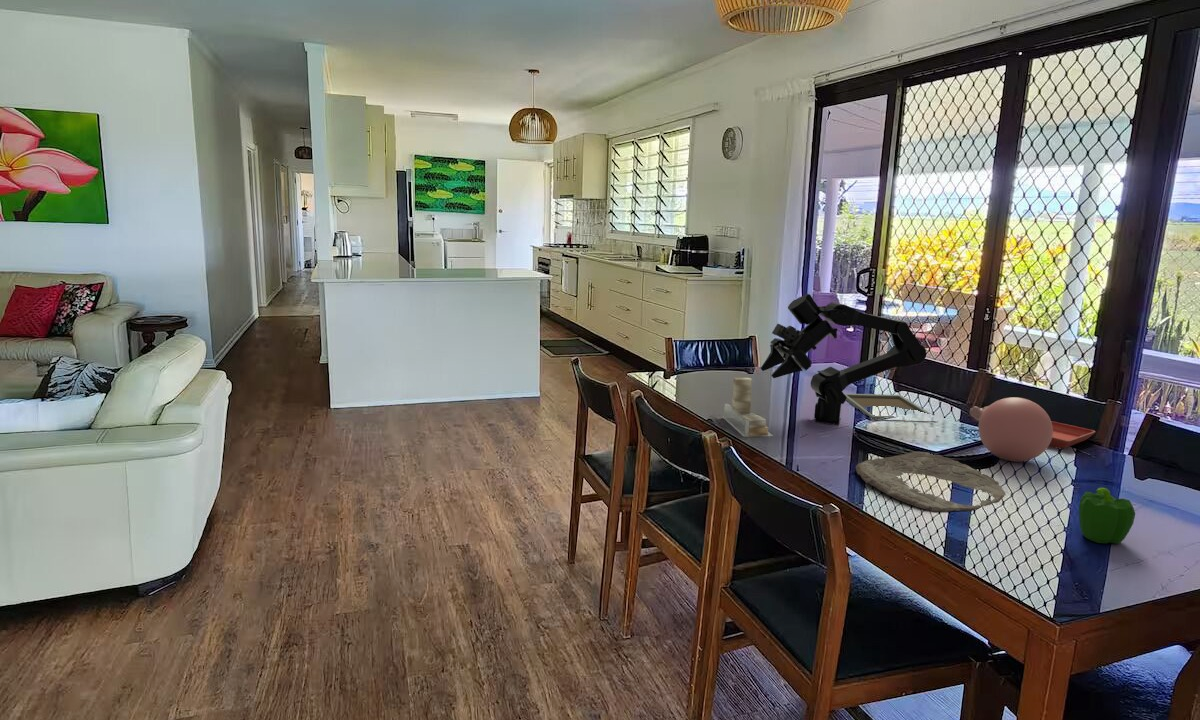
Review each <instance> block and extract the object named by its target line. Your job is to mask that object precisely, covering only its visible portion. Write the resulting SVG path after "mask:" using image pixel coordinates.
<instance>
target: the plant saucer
mask: <svg viewBox="0 0 1200 720" xmlns="http://www.w3.org/2000/svg"><path fill="white" fill-rule="evenodd" d="M1051 422H1052V426H1053V436H1052V440H1051V442H1050V444H1049V446H1048V447H1051V448H1056V449H1061V450H1063V449H1067V448H1069V447H1071V446H1074V445H1076V444H1079V443H1082V442H1084V441H1086V440H1088V439H1089V438H1090V437H1092V436H1093V435H1094V434H1096V431H1095V430H1094V429H1089V428H1086V427H1079V426H1076V425H1070V424H1067V423H1061V422H1057V421H1052V420H1051Z"/></svg>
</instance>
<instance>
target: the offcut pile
mask: <svg viewBox="0 0 1200 720" xmlns="http://www.w3.org/2000/svg"><path fill="white" fill-rule="evenodd" d="M742 416H744V417H745V418H746V419H747V420H748V421H749V435H758V434H768V432H769V427H768V426H767V419H765V418H764V417H762V416H760V415H759V414H755V415H742Z"/></svg>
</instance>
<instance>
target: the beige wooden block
mask: <svg viewBox="0 0 1200 720" xmlns="http://www.w3.org/2000/svg"><path fill="white" fill-rule="evenodd" d="M732 384H733V385H732V399H731V406H732V407H733V408H734V409H735V410H736V411H738V412H739V413H751V403H752V401H751V400H752V391H753V390H752V386H753V378H751V377H733V383H732Z"/></svg>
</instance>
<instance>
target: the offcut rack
mask: <svg viewBox="0 0 1200 720" xmlns="http://www.w3.org/2000/svg"><path fill="white" fill-rule="evenodd" d="M723 411H724V415H723V416H722V419H723V420H725V421H726V422H727V423H728V424H729V425H731V427H732V428H733V429H734V430H736V431H737V432H738V433H739V434H740V435H741V436H742V437H744V438H747V437H749V438H750V437H774V435H773V434H772V433H770V432H769V431H768V434H758V435H749V421H748V420H747V419H746V418H745V417H744V416H742V415H756V413H754V412H753V413H751V412H750V413H739V412H738V411H736V410H735V409H734V408H733V407H732V405H730V404H729V403H724V410H723Z"/></svg>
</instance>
